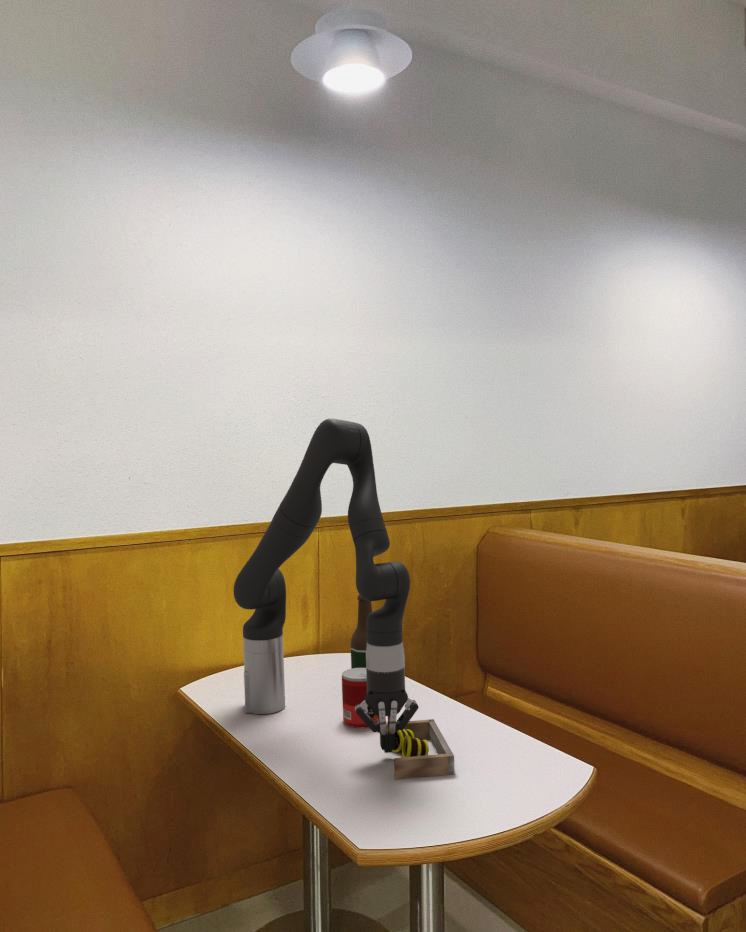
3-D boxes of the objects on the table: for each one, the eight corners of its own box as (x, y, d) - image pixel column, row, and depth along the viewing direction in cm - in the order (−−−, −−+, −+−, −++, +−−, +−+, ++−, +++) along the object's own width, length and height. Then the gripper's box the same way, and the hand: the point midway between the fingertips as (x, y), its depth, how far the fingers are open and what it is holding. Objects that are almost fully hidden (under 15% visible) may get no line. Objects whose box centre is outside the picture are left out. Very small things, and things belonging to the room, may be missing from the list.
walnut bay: (395, 779, 145) (395, 760, 145) (381, 739, 163) (380, 723, 163) (454, 774, 147) (454, 755, 147) (433, 735, 165) (433, 719, 165)
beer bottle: (388, 687, 195) (386, 592, 194) (372, 697, 189) (369, 599, 187) (362, 682, 199) (360, 589, 198) (345, 692, 193) (342, 595, 192)
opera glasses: (429, 765, 153) (432, 739, 153) (406, 766, 151) (410, 740, 151) (404, 747, 162) (407, 723, 162) (382, 748, 159) (385, 723, 159)
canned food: (375, 729, 169) (373, 679, 169) (339, 727, 171) (337, 677, 170) (381, 716, 177) (380, 668, 176) (347, 714, 178) (345, 666, 178)
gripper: (415, 656, 158) (417, 740, 159) (349, 661, 156) (352, 746, 157) (422, 668, 150) (424, 756, 151) (353, 672, 149) (356, 762, 150)
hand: (387, 750), depth 154 cm, fingers closed
